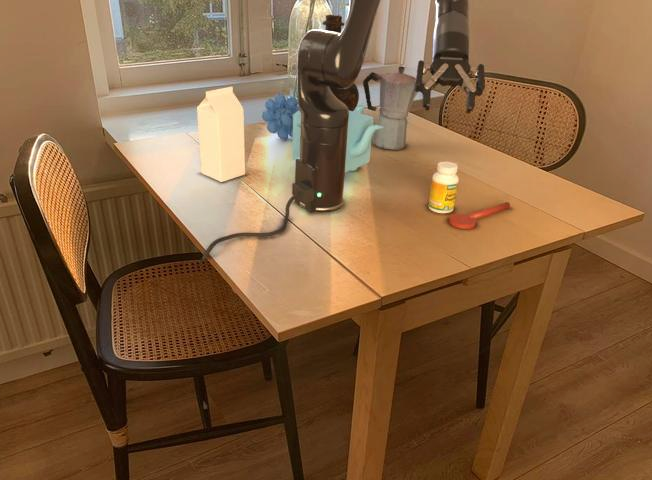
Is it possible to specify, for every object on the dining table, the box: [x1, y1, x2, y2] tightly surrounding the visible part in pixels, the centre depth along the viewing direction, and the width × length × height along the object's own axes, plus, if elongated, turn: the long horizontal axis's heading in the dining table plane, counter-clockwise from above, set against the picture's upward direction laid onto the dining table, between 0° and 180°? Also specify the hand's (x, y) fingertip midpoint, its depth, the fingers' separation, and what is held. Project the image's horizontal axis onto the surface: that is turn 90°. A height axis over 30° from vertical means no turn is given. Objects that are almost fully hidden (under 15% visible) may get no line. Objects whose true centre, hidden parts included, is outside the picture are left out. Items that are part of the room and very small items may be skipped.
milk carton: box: [196, 86, 246, 183], centre depth 127 cm, size 7×7×19 cm
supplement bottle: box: [427, 161, 460, 214], centre depth 119 cm, size 5×5×10 cm
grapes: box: [261, 93, 300, 140], centre depth 151 cm, size 12×7×12 cm, turn 105°
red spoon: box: [448, 201, 511, 230], centre depth 119 cm, size 17×5×1 cm, turn 125°
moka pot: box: [362, 66, 426, 151], centre depth 149 cm, size 10×15×20 cm, turn 89°
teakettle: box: [291, 103, 383, 174], centre depth 134 cm, size 19×19×15 cm
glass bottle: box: [296, 14, 360, 111], centre depth 165 cm, size 18×18×28 cm
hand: (448, 110), depth 121 cm, fingers open, 8 cm apart
